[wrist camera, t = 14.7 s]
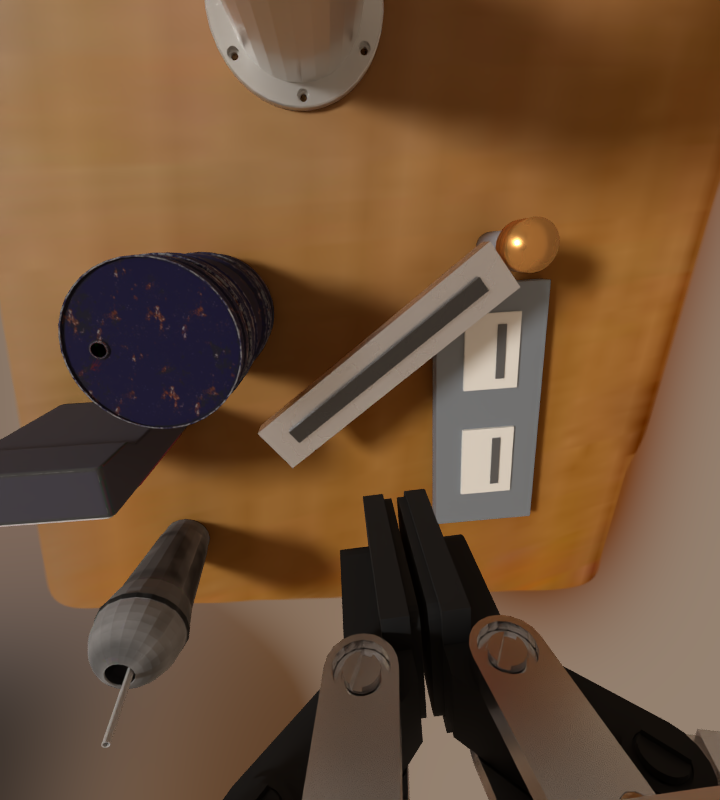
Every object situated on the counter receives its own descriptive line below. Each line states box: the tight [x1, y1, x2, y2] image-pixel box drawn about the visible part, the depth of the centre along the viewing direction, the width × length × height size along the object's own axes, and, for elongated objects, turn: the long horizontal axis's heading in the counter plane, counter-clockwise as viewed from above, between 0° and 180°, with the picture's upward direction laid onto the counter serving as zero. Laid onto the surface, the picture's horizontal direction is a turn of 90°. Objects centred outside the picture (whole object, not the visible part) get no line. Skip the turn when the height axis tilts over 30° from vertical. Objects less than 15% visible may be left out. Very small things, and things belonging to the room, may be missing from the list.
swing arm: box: [258, 217, 560, 468], centre depth 32 cm, size 26×4×2 cm, turn 129°
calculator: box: [0, 402, 187, 527], centre depth 33 cm, size 11×4×15 cm, turn 93°
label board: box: [433, 231, 551, 524], centre depth 39 cm, size 28×10×6 cm, turn 3°
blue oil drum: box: [58, 252, 274, 429], centre depth 30 cm, size 10×10×15 cm
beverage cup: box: [88, 519, 210, 747], centre depth 35 cm, size 7×7×20 cm
